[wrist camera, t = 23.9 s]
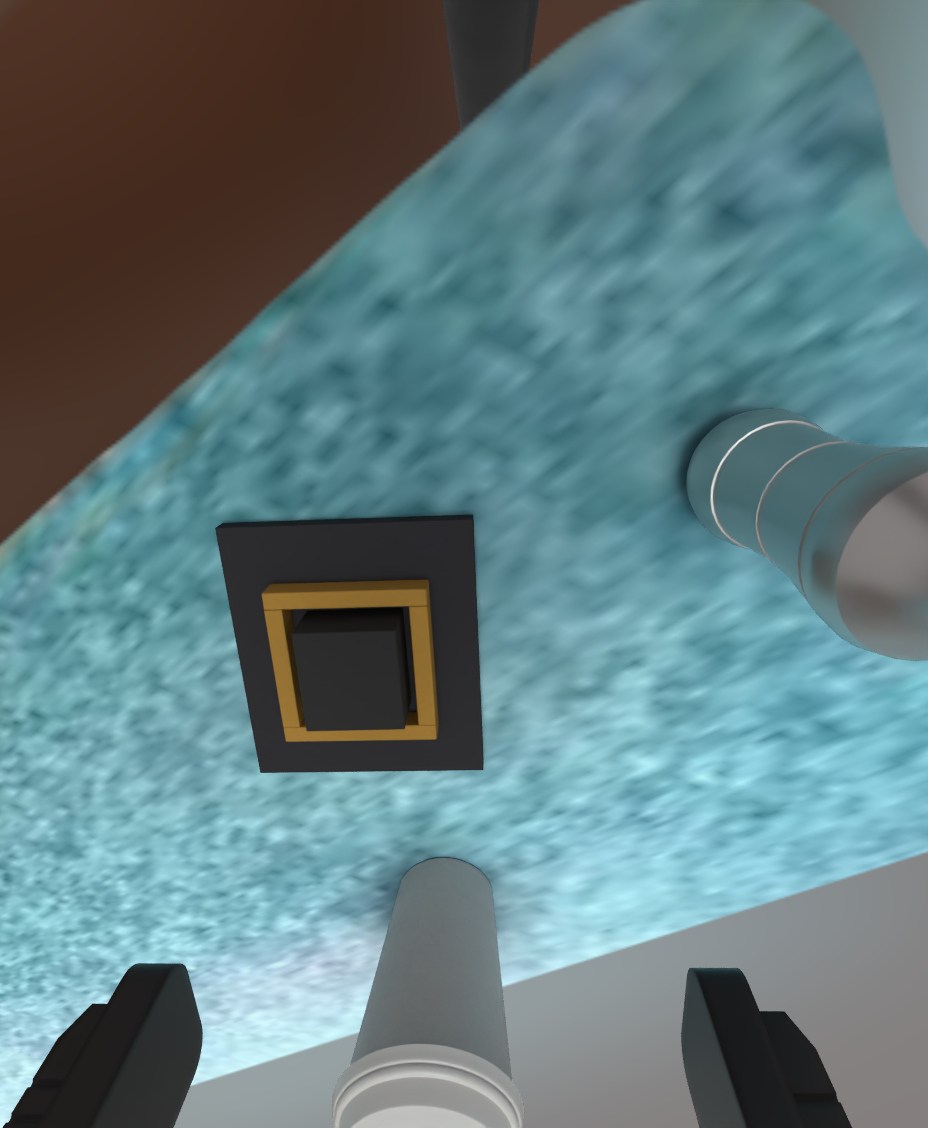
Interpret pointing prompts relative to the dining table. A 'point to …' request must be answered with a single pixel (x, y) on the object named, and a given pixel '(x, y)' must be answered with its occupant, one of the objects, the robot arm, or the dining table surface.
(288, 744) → the base pad
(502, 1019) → the coffee cup
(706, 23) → the dining table surface
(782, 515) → the plastic bottle
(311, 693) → the black block
